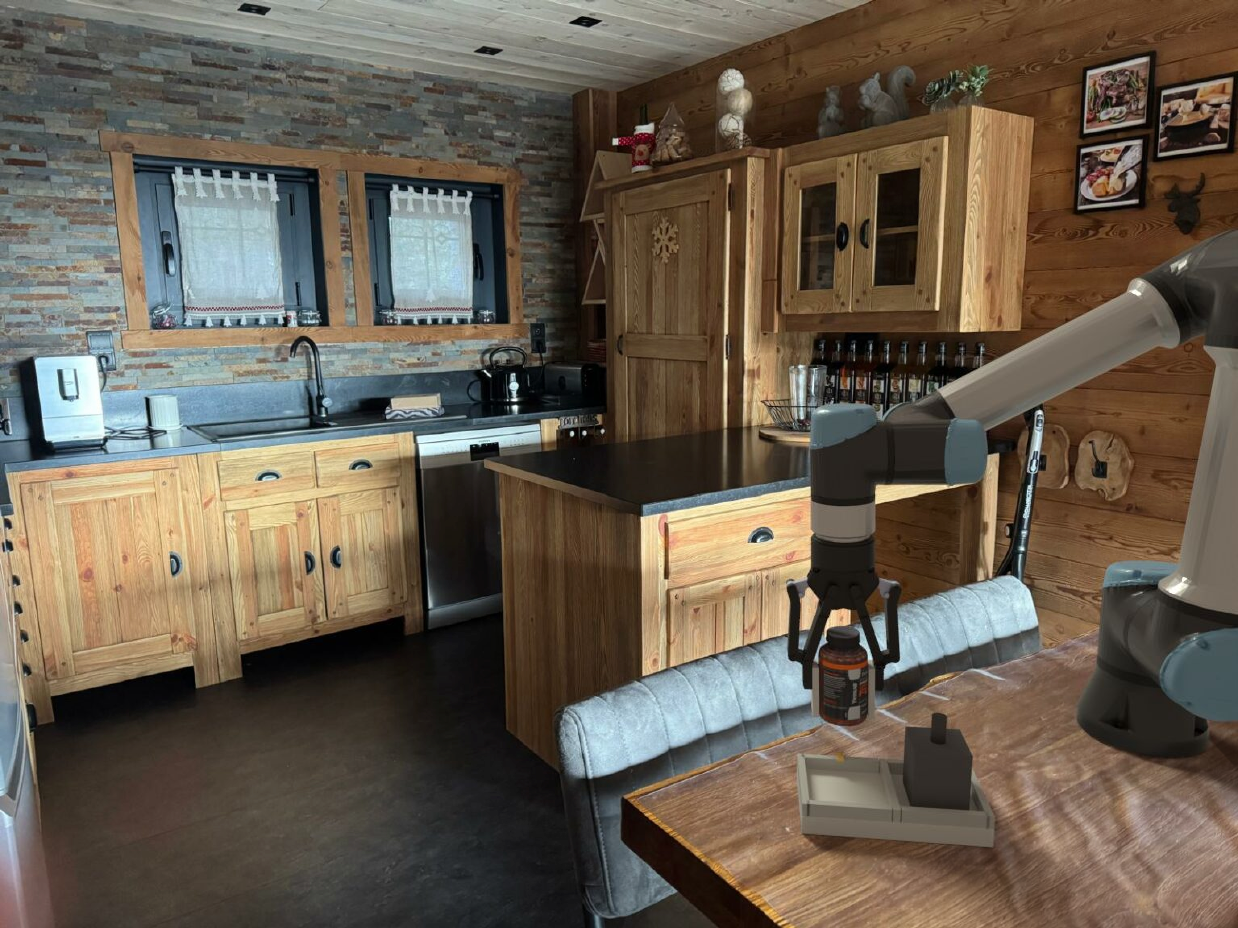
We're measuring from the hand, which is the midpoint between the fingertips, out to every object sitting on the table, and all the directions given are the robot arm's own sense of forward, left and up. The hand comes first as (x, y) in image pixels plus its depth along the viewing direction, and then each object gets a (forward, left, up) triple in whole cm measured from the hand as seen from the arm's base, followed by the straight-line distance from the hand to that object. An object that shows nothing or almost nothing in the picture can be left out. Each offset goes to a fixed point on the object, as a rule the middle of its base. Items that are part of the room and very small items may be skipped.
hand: (842, 712), depth 108 cm
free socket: (+1, +10, -5) cm, 11 cm away
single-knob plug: (-9, +10, -5) cm, 14 cm away
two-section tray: (-4, +10, -7) cm, 13 cm away
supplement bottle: (0, 0, -1) cm, 1 cm away
